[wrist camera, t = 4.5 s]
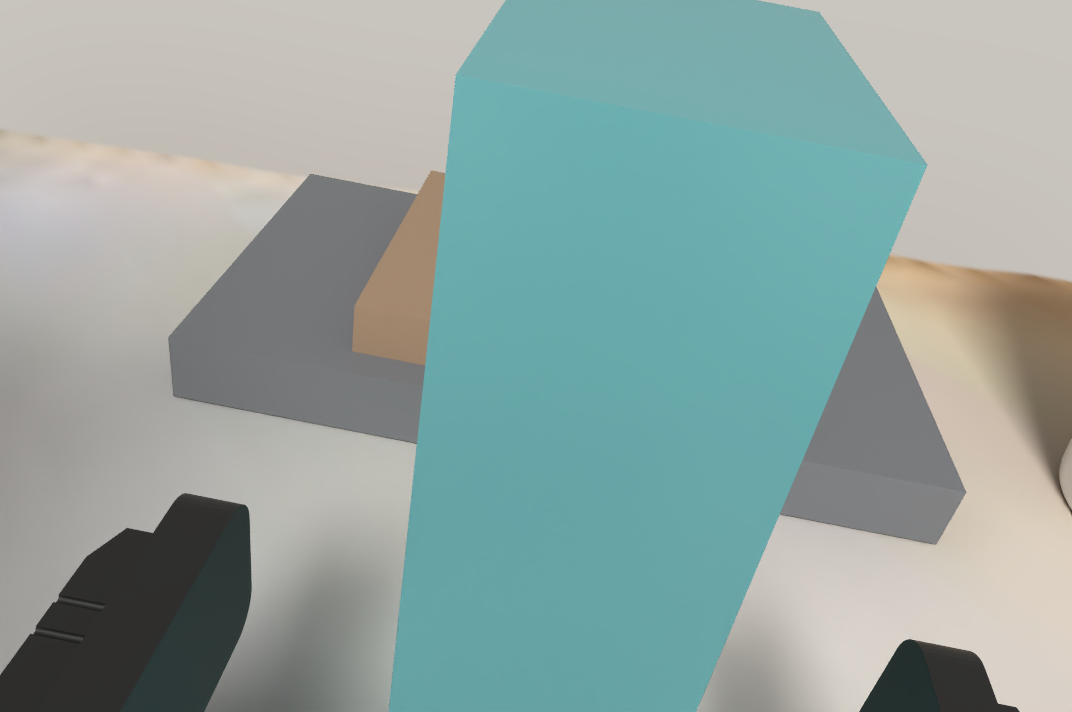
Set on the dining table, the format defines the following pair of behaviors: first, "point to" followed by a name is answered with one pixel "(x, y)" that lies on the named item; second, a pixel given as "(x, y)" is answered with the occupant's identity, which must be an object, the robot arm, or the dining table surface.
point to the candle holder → (1066, 474)
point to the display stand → (402, 336)
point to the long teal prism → (631, 340)
